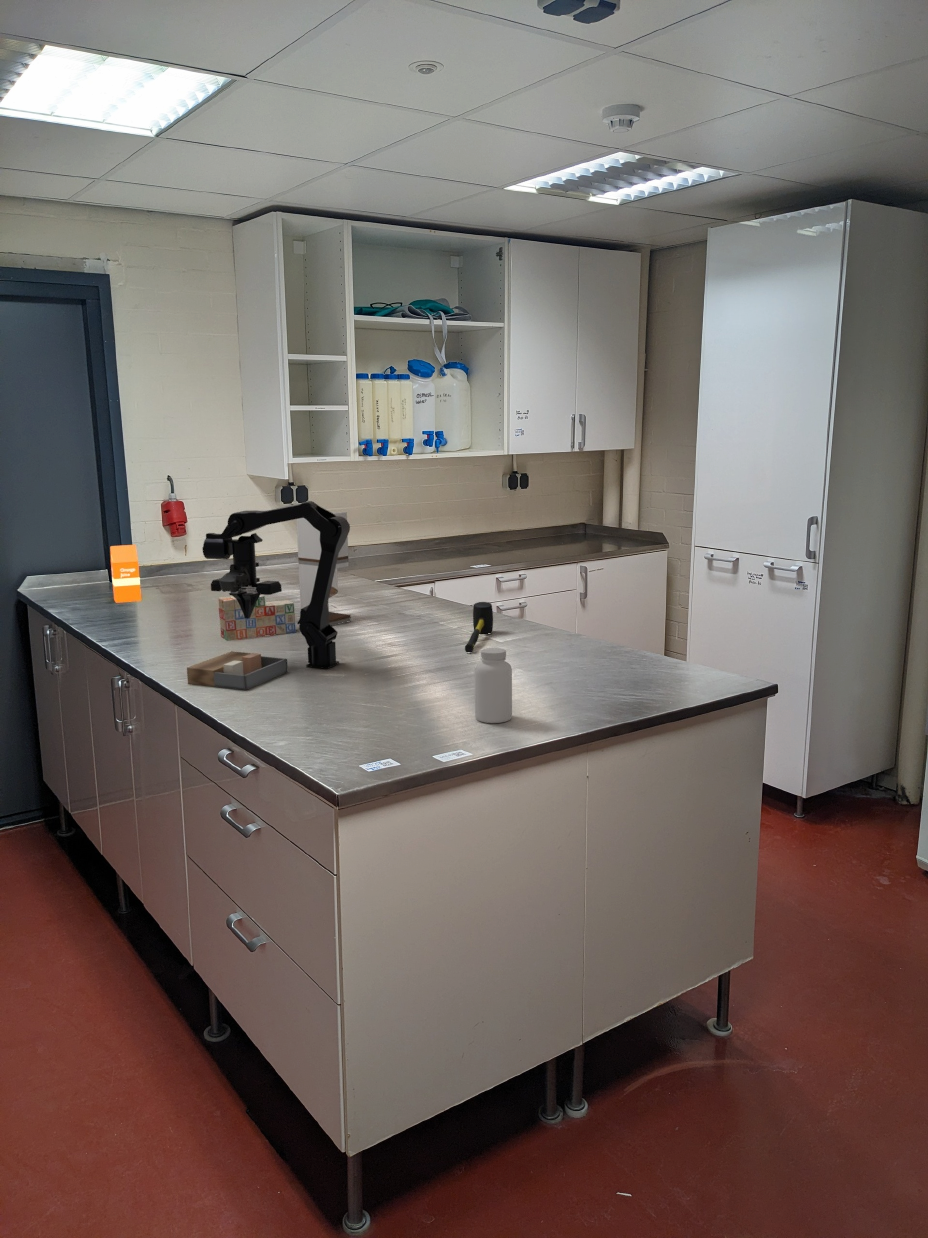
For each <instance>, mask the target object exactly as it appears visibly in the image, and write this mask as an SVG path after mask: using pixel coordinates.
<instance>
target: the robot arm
mask: <svg viewBox="0 0 928 1238" xmlns="http://www.w3.org/2000/svg"><path fill="white" fill-rule="evenodd" d="M333 513H334V512H332V511H329V510H327V509H325V508H324V507H322V506H320V505H319V504H318V503H316V502H314V501H312V500H307V501H304V502H301V503H298V504H293V505H288V506H282V507H279V508H274V509H269V510H242V511H237V512H234V513H231V514H230V515H229V517H228V519H227V525H226V526H225V528H224V529H223V531H222V532H221V533H215V532H208V533H206V534H205V539H204V541H203V545H202V553H203V557H204V559H207V560H229V559H230V558H231V557H232V562H233V563H231V564H230V565H229V572H227V573H225V574H224V575H223V576H221V577H219V578H215V579H213V580H212V581H211V583H210V591H211V592H221V591H222V592H223V593H224V592H229V593H228V595H229V596H233V597H234V598H236V599H237V601H238V603H239V605H240V607H241V609H242V612H243V614H244V616H245V618H246V619H249V618H250V617H251V614H252V612H253V609H254V607H255V604H256V602H257V600H258V598H259V596H260V595H263V596H271V595H275V594H278V593H281V592H282V584H281V583H280V581H279V580H265V581H262V582H261V581H260V577H257V568H258V567H259V566H260V563H259V562H257V561H256V545H255V544H258V543H261V542H263V539H262V538H261V537H260V536H259V534H257V533H256V532H254V531H256V530H259V529H261V528H264V527H266V526H267V525H268V526H269V525H273V524H279V523H283V522H288V521H293V520H297V519H299V518H305V519H306V520H307V521H308V522H309V523H310V524H311V525H312V526H313V527H314V528H315V529H317V530H318V531H320V545H321V555H320V560H319V564H318V569H317V574H316V578H315V583H314V588H313V592H312V597H311V602H310V604H309V605H308V606H306V607H304V608H302V609H301V608H300V611H299V619H298V621H297V625H299V626H298V627H299V628H298V630H299V633H300V634H301V635H302V637H304V639H305V641H306V644H307V646H308V647H307V662H308V663H307V664H306V667H307V668H315V669H316V668H317V669H330V668H332V667H334V666H337V665H338V664H340V661H338V660H337V652H336V651H337V650H336V648H337V647H336V641H334V640H336V639H337V636H338V633H339V632H338V630H336V629H335V628H334V627H333V626H331V625H330V624H329V612H330V610H329V611H328V604H329V600H330V599H329V595H330V590H331V586H332V581H333V577H334V572H335V568H336V563H337V558H338V554H339V552H340V550H341V548H342V546H343V545H344V543H345V541H346V538H347V536H349V533H350V530H351V524H350V522H349V521H348V519H347V520H346V519H345V518H343V517H341V516H336V515H334V514H333ZM251 532H254V533H251ZM248 533H251V534H250V535H244V534H248ZM236 537H238V538H236ZM233 538H236V539H233Z"/></svg>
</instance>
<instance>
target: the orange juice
mask: <svg viewBox="0 0 928 1238" xmlns="http://www.w3.org/2000/svg"><path fill="white" fill-rule="evenodd" d="M109 549H110V566H111V567H110V568H111V580H112V589H113V600H114V602H115V603H116V604H117V603H129V602H130V603H132V602H141V601H142V591H141V577H140V569H139V568H140V567H139V559H138V558H139V557H138V552H137V551H138V550H137V546H136V544H127V545H123V544H122V545H111V546H110V548H109Z"/></svg>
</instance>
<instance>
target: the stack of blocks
mask: <svg viewBox="0 0 928 1238" xmlns="http://www.w3.org/2000/svg"><path fill="white" fill-rule="evenodd" d="M265 596H266V595H261V594H260V596H259V598H258V600H257V602H256V604H255V607H254V609H253V612H252V614H251V617H250V618H249V619H246V618H245V616H244V614H243V612H242V609H241V607H240V605H239V603H238V601H237V599H236V598H234V597H233V596H232V595H229V596H221V597H218V614H219V626H220V638H222V639H223V640H225V641H227V642H229V641H237V640H236V639H238V640H243V638H246V639H252V638H251V637H255V638H259V637H258V636H262V637H266V636H265V635H270V636H275V635H274V634H278V635H285V634H292V633H296V615H295V614H296V613H295V603H294V602H293V601H290V600H288V599H283V600H275V601H266V597H265Z"/></svg>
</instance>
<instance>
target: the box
mask: <svg viewBox="0 0 928 1238" xmlns="http://www.w3.org/2000/svg"><path fill="white" fill-rule="evenodd" d="M261 666H262V668H261V669H258V670H256V671H253V672H251V673H249V674H246V675H237V674H228V673H219V672H214V685H215V687H216V688H221V689H222V688H223V689H224V688H225V689H233V690H238V691H239V690H241V691H247V690H250V689H252V688H254V687H256V686H259V685H261V684H264V683H266V682H268V681H270V680H273V679H274V678H277V677H281V676H282V675H284V674H287V673H289V672H288V670H289V669H288V658H282V657H275V656H274V657H273V656H264V655H263V656H262V655H261ZM215 687H214V688H215Z"/></svg>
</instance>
